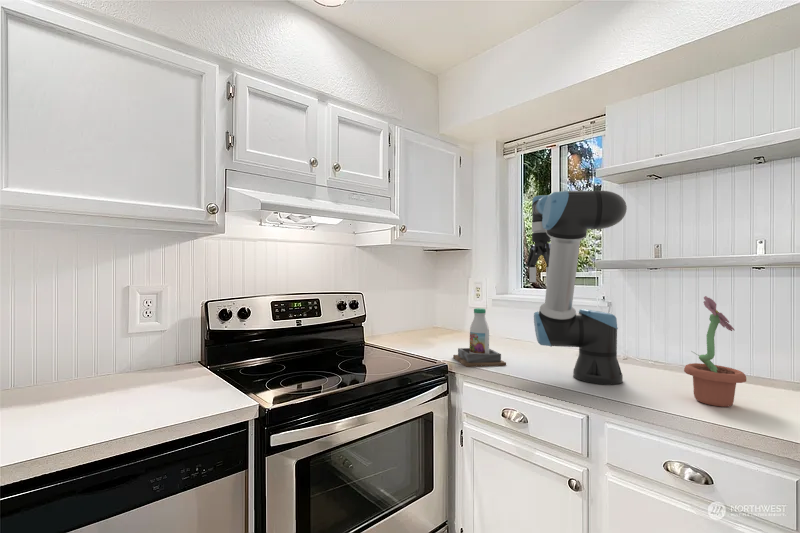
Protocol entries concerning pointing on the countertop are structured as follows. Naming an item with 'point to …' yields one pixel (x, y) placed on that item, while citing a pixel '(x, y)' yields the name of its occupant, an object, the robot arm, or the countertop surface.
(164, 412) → the countertop surface
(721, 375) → the decorative flower
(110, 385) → the countertop surface
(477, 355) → the square grey dish
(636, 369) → the countertop surface
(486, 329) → the milk bottle
